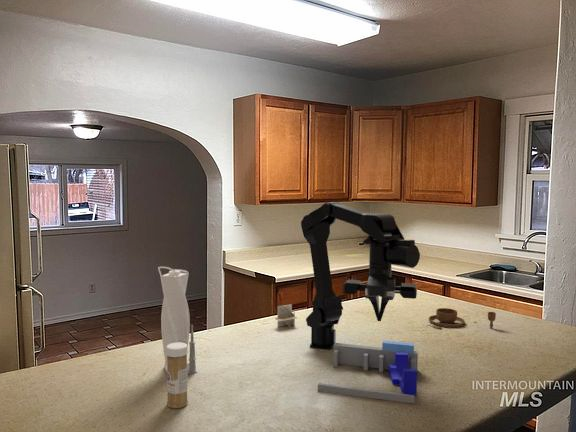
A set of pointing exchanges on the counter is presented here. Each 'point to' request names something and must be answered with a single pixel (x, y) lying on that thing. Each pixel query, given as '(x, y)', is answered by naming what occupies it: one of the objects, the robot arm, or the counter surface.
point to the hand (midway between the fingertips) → (379, 320)
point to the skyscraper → (176, 314)
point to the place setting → (453, 318)
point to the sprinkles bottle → (177, 374)
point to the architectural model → (285, 315)
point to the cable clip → (403, 374)
